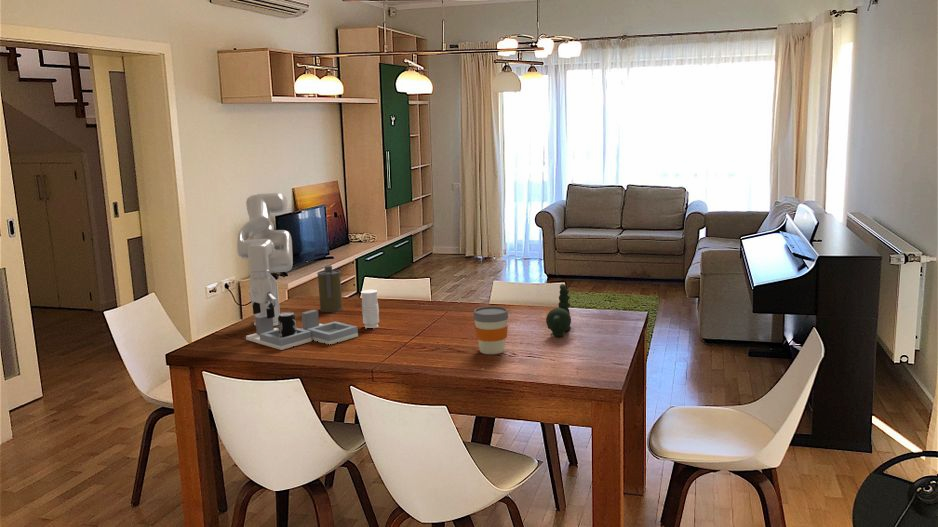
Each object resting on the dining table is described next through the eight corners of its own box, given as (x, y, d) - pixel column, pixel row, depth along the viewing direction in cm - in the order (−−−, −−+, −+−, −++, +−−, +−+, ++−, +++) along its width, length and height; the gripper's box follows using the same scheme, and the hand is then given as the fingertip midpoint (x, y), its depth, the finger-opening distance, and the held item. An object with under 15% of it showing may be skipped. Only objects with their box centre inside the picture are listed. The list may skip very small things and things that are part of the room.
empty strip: (292, 334, 309) (290, 314, 307) (320, 327, 319) (319, 307, 317) (329, 344, 293) (328, 323, 291) (358, 336, 303) (356, 315, 302)
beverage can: (292, 346, 294) (290, 316, 291) (277, 346, 295) (274, 315, 293) (300, 341, 300) (297, 311, 298) (284, 341, 301) (282, 311, 299)
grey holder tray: (246, 339, 305) (244, 318, 303) (276, 331, 315) (274, 311, 313) (281, 350, 289) (279, 328, 287) (311, 341, 299) (310, 320, 297)
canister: (320, 307, 354) (317, 264, 350) (343, 305, 355) (340, 263, 351) (318, 313, 343) (315, 269, 339) (342, 311, 344) (339, 268, 340)
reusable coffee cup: (475, 345, 285) (473, 306, 283) (508, 344, 285) (507, 305, 282) (474, 356, 273) (472, 315, 270) (509, 355, 273) (508, 314, 270)
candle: (369, 330, 312) (366, 294, 310) (359, 326, 318) (357, 291, 315) (383, 326, 317) (381, 291, 314) (373, 323, 322) (371, 288, 319)
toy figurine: (553, 328, 311) (543, 340, 287) (552, 282, 309) (542, 290, 285) (576, 329, 308) (568, 341, 284) (576, 282, 306) (568, 291, 282)
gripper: (239, 272, 306) (243, 314, 310) (264, 279, 295) (268, 321, 299) (255, 269, 312) (259, 309, 316) (280, 275, 300) (284, 317, 304)
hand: (263, 315), depth 307 cm, fingers open, 9 cm apart
